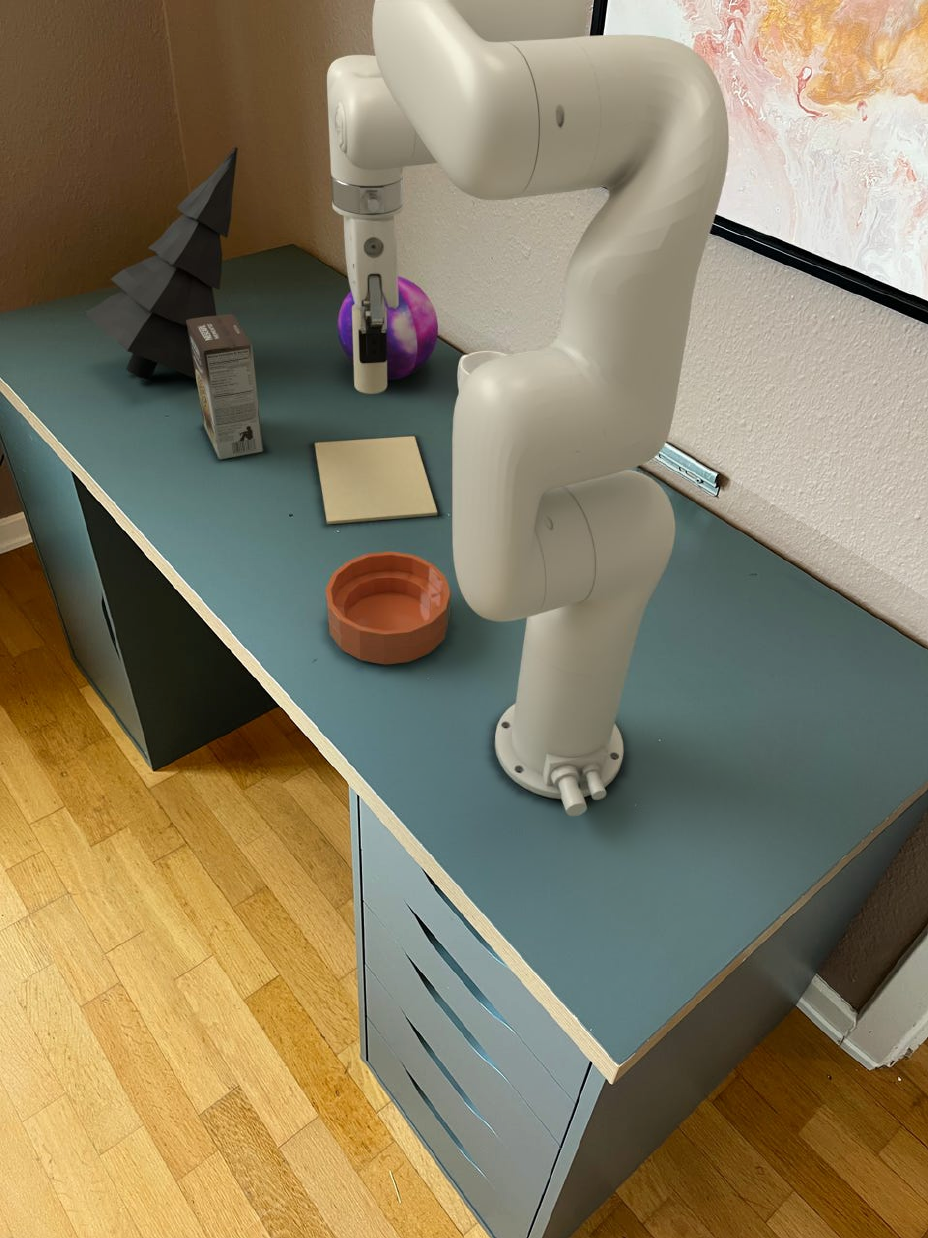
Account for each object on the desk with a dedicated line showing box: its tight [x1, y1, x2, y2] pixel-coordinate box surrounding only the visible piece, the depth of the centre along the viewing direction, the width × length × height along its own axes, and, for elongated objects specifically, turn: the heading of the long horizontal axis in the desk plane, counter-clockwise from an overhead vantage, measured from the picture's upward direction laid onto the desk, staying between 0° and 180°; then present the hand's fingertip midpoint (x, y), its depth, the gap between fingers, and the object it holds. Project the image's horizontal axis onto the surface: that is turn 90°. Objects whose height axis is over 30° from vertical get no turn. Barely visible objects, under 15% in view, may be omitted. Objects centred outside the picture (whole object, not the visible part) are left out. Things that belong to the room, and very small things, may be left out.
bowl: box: [325, 551, 451, 665], centre depth 101 cm, size 13×13×5 cm
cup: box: [456, 350, 508, 393], centre depth 131 cm, size 8×12×10 cm
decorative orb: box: [337, 275, 439, 381], centre depth 138 cm, size 15×15×15 cm
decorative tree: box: [84, 146, 239, 381], centre depth 133 cm, size 15×15×35 cm
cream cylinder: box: [352, 301, 388, 395], centre depth 110 cm, size 4×4×10 cm
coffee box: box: [186, 313, 264, 460], centre depth 122 cm, size 9×6×16 cm
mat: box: [314, 435, 438, 525], centre depth 122 cm, size 18×14×1 cm
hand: (370, 350), depth 110 cm, fingers closed on cream cylinder, 4 cm apart
